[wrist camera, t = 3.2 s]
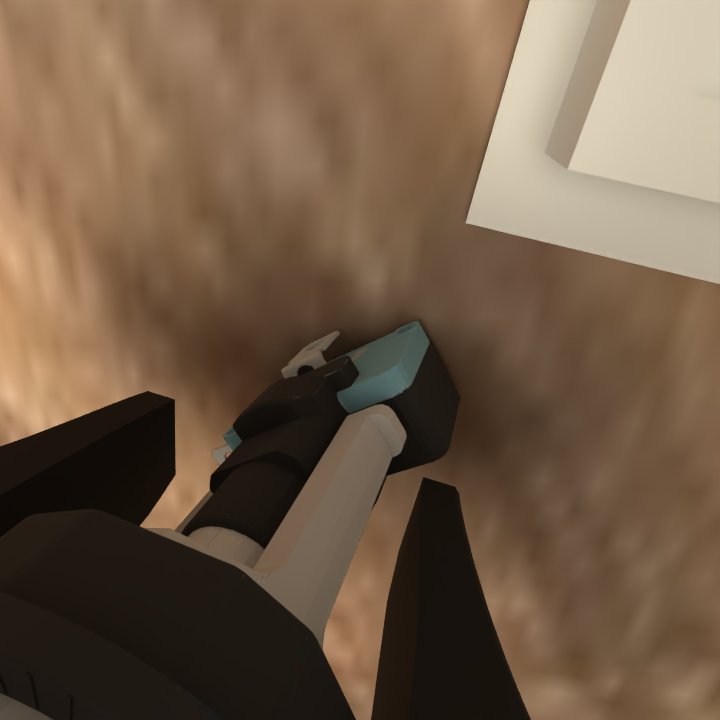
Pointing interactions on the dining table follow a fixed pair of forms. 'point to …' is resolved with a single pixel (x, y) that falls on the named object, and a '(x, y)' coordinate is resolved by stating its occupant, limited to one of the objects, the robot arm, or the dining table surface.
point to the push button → (224, 557)
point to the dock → (611, 134)
